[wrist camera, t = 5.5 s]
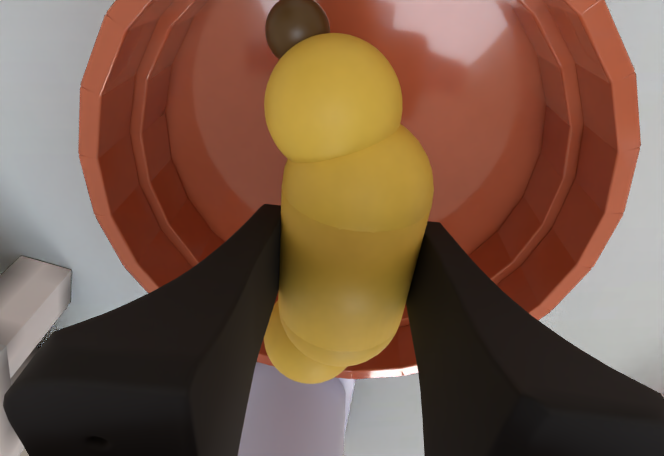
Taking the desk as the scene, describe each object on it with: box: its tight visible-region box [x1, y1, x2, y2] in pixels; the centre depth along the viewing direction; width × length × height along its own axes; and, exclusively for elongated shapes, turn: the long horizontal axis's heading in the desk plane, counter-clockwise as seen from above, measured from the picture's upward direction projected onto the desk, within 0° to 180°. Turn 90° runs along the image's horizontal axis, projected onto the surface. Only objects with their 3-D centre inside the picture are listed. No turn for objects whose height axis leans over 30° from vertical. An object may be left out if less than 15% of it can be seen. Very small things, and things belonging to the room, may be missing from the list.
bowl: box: [78, 0, 641, 379], centre depth 16 cm, size 17×17×5 cm
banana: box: [264, 0, 434, 384], centre depth 12 cm, size 12×4×4 cm, turn 175°
